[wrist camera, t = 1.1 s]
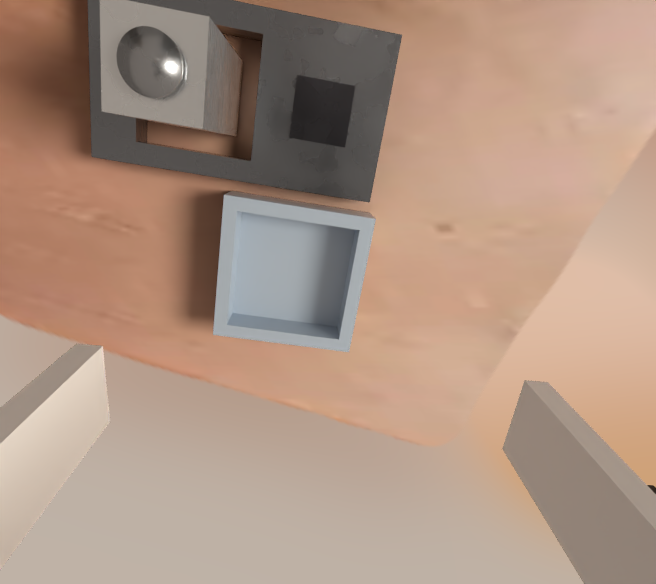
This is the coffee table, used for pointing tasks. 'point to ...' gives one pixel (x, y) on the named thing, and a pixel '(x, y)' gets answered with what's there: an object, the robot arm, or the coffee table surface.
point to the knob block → (168, 67)
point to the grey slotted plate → (278, 102)
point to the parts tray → (290, 271)
